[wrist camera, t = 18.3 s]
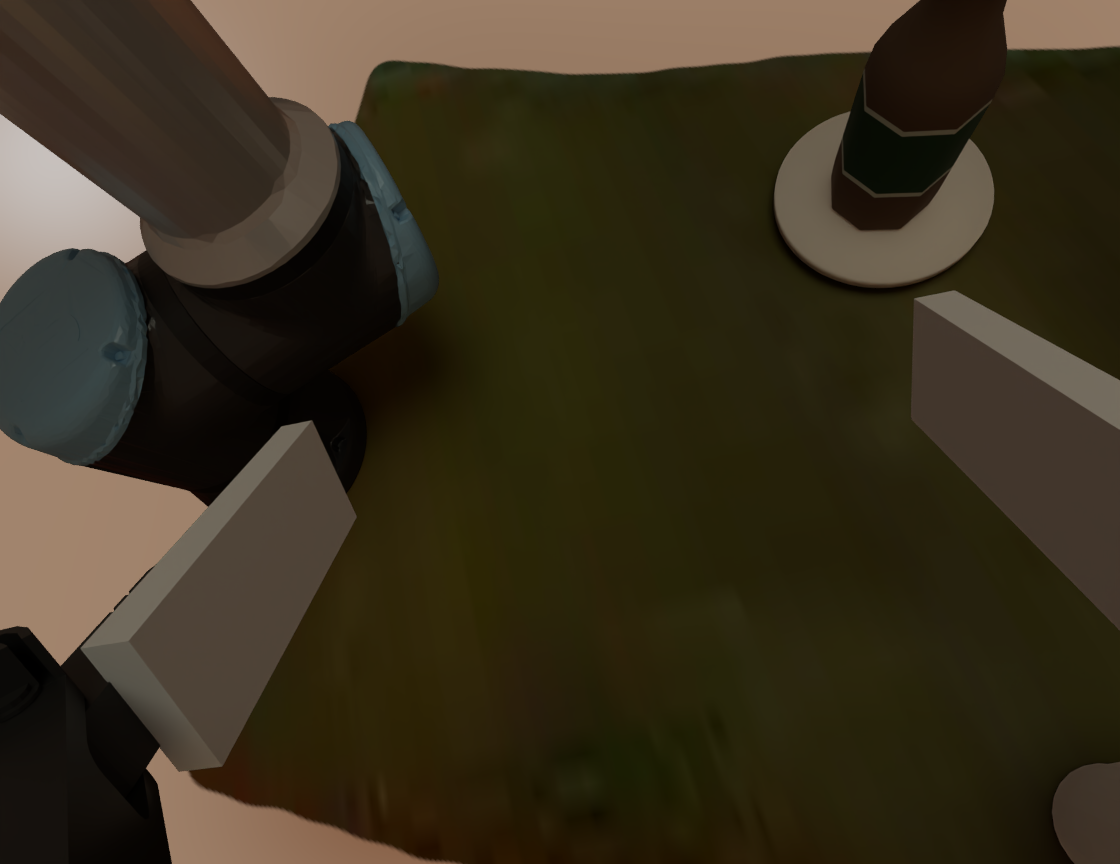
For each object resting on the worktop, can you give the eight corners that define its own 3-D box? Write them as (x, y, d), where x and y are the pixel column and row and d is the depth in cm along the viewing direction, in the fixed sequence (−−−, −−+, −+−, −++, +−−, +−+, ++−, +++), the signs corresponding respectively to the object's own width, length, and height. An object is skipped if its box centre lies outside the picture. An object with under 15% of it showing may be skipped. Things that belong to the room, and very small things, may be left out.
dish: (731, 207, 55) (732, 192, 53) (873, 92, 55) (879, 74, 53) (874, 333, 49) (881, 321, 48) (1029, 205, 50) (1043, 188, 48)
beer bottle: (809, 217, 51) (908, -103, 28) (847, 140, 52) (971, -226, 30) (909, 249, 49) (1104, -72, 26) (946, 167, 50) (1162, -207, 27)
